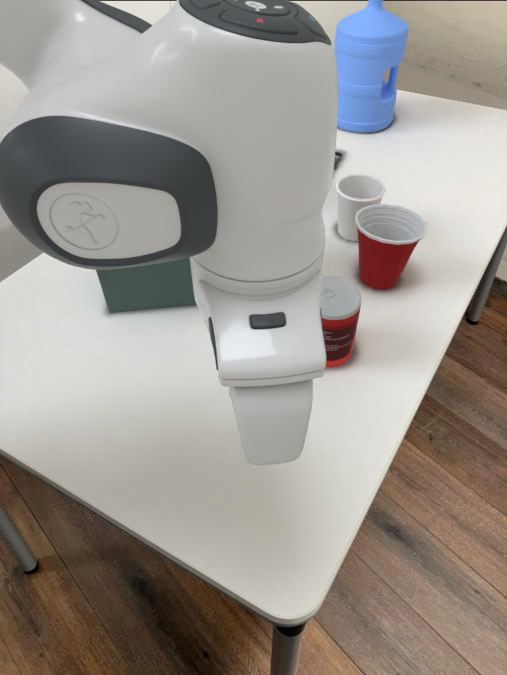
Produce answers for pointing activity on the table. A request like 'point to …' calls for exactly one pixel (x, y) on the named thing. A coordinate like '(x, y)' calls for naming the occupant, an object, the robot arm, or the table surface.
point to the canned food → (339, 318)
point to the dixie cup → (355, 200)
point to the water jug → (368, 67)
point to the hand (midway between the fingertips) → (256, 392)
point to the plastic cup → (386, 242)
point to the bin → (148, 286)
